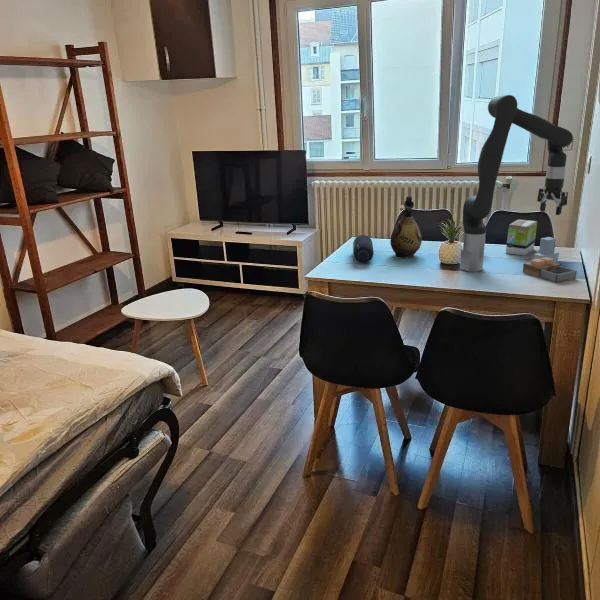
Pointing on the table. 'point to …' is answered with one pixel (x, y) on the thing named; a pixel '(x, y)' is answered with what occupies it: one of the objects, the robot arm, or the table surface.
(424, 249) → the table surface
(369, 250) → the portable speaker
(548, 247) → the scraper block
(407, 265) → the table surface
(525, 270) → the flat wooden box
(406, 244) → the ceramic jug
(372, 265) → the table surface
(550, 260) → the tile
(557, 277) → the tray
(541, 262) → the tile
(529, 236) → the tea box
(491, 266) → the table surface
